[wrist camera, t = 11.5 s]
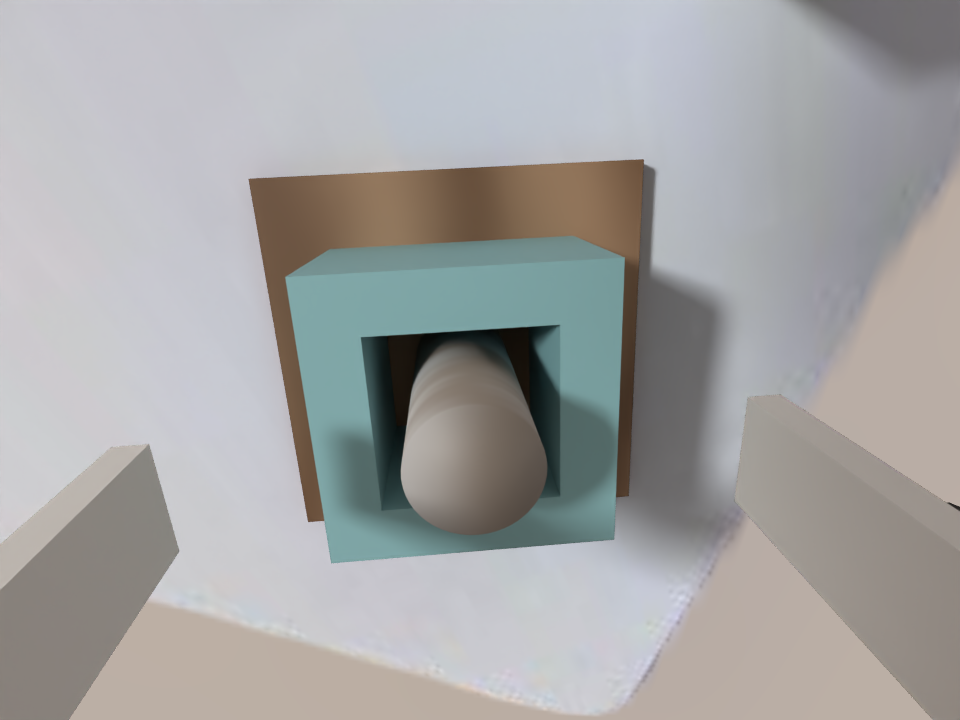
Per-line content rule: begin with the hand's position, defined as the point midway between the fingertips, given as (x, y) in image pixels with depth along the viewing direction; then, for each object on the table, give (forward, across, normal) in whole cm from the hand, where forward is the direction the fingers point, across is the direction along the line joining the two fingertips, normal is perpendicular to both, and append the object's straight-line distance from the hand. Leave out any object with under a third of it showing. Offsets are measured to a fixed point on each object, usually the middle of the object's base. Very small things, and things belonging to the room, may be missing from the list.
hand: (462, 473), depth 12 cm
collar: (+10, 0, -1) cm, 10 cm away
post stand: (+10, 0, -1) cm, 11 cm away
